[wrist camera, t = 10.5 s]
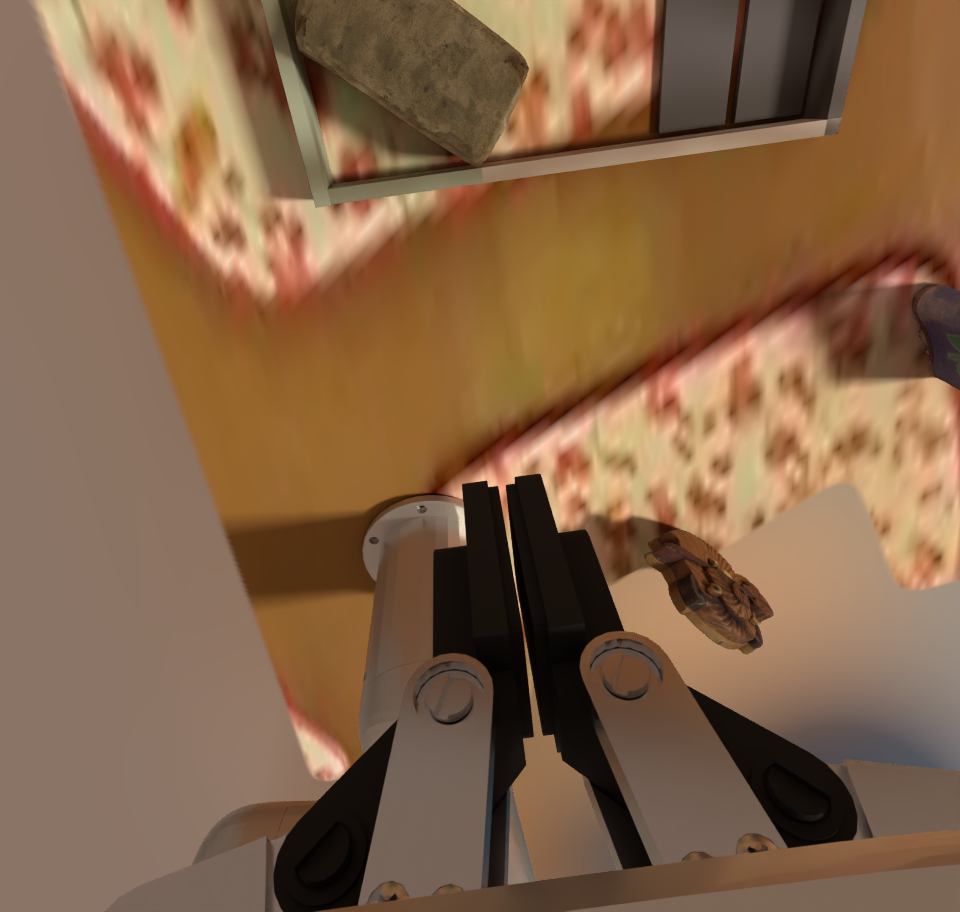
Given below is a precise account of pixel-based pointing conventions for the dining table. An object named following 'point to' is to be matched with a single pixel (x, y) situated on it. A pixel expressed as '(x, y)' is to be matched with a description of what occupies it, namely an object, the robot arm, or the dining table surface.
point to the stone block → (420, 65)
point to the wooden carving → (709, 590)
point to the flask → (940, 330)
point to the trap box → (682, 92)
